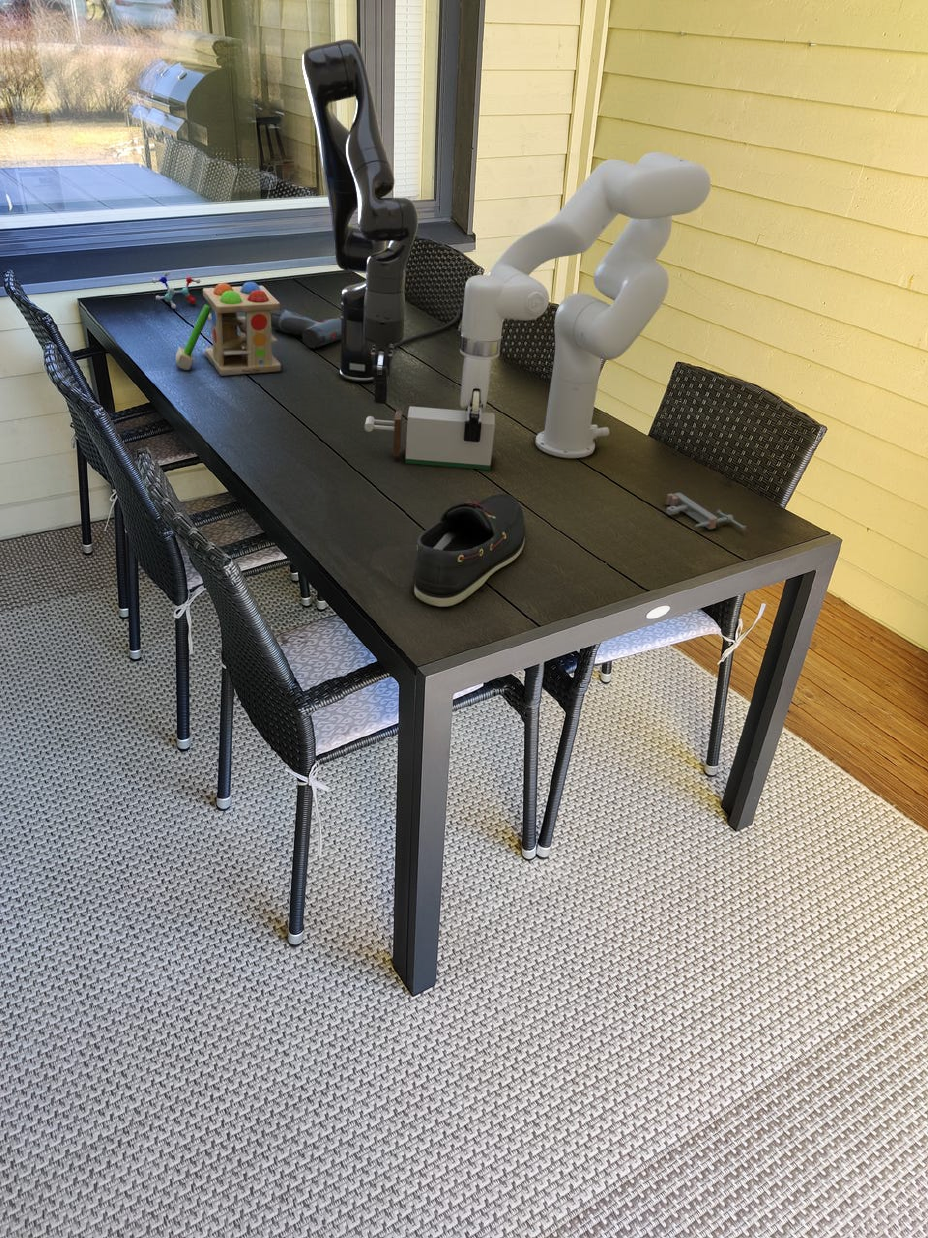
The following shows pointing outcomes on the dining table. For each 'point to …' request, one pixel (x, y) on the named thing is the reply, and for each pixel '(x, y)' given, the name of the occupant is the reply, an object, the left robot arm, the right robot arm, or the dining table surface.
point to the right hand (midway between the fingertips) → (471, 433)
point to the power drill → (307, 327)
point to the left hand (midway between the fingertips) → (380, 402)
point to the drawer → (397, 429)
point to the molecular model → (172, 292)
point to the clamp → (677, 506)
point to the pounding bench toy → (229, 347)
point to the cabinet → (447, 439)
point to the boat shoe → (467, 548)
